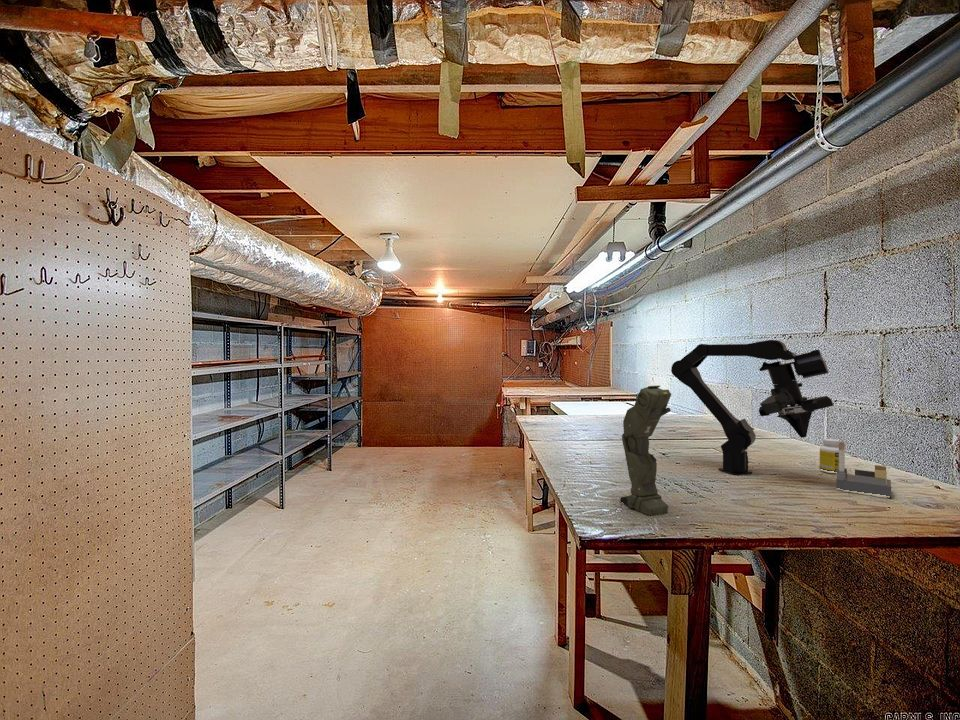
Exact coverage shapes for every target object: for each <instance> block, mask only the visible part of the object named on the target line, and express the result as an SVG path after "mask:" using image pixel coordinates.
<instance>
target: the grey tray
mask: <svg viewBox="0 0 960 720" xmlns="http://www.w3.org/2000/svg"><path fill="white" fill-rule="evenodd" d="M887 472H888V471H887V465H881V464H879V465H878V464H875V465H874V471H870V470H863V469H855V468H854V474H850V473H849V474H848V468H845V473H841V472H839V468H838V472H837V474H836V478H835V489H836V488H840V489H843V490H849V491H857V492H864V493H872V494H880V495H886V496H891V497H892V482H891V479H887V478H888V477H887V476H888V475H887V474H888V473H887Z"/></svg>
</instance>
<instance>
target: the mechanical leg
mask: <svg viewBox="0 0 960 720" xmlns="http://www.w3.org/2000/svg"><path fill="white" fill-rule="evenodd" d="M660 387H661V385H648V386H647V387H643V388H640V390H639V392H638V394H637V396H636V400H635V403H634V406H633V405H632V406H631V407H630V408H628V409H627V410H626V412H625V416H624V418H623V422H622V424H623V433H622V435H621V441H622V446H623V450H624V455H625V460H626V466H627V471H628V478H629V480H630V484H631V488H630V495H627V496H626V495H625V496H621V497H620V499H619V502H620V501H621V502H623V503H624V504H623V503H622V504H623V505H625V504H626V505H628V506H627V507H628V508H630V509H634V508H635V509H634V510H635V511H637V512H640V513H643V514H645V515H647V516H649V517H650V515H651V516H656V514H657V515H661V514H668V511H669V505H668V504H667V503H666V502H665V501H664V500H663V499H662V496H661V495H660V494H659V491H658V487H657V484H656V478H657V470H658V469H657V468H658V467H657V464H658V463H657V458H656V457H655V456H654V455H653V454H651V453H650V452H649V449H650V440H649V437H651V436H652V435H653V434H654V432H655V430H656V427H657V425H658V423H659V422H660V420H661V417H662V416H664V415H666V414H669V412H671V411H672V410H671V408H670V407H668V404H669V402H670V399H671V397H672V393H671V391H670V390H669V389H662V388H660ZM621 502H620V503H621ZM626 505H625V506H626Z"/></svg>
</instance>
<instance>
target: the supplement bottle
mask: <svg viewBox="0 0 960 720" xmlns="http://www.w3.org/2000/svg"><path fill="white" fill-rule="evenodd" d="M839 442H841V441H840V440H839V439H835V438H822V444H823V445H821V446H820V447H819V470H820V469H823V470H827V471H834V472H838V468H839Z"/></svg>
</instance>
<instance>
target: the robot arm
mask: <svg viewBox="0 0 960 720" xmlns="http://www.w3.org/2000/svg"><path fill="white" fill-rule="evenodd" d="M708 357H749V358H756V359H761V360H768V361H774V362H770V363H768V362H766V361H764V362H762V365H761V366H760V368H759V369H758V370H759V371H760V372H764V371H768V375H769V378H770V380H771V383H772V386H773V388H770V394H771V395H770V396H768V397H766V398H765V399H764V400H763V401H762V402H760V404H759V405H760V406H759V408H758V412H759V416H760V417H766V416H767V417H768V416H770V415H772V414H776V413H778V415H777V416H776V417H777V418H781V419H782V420H785V421H787V423H789V425H790V426H791V427H792V429H793V430H794V431H795V432H796V433H797V435H798V436H799V437H800V438H803V439H804V438H806V437H807V434H808V430H809V425H810V420H811V418H812V413H813V412H815V411H816V410H822V409H825V408H829V407H830V408H831V407H833V406H834V403H833V400H832V398H830V397H829V396H828V395H824V396H817V397H813V398H808V397H805V396H804V397H803V394H802V391H801V387H803V383H802V382H798V380H797V378H796V375H797V376H798V377H799V376H802V378H803V379H807V378H813V377H818V376H822V375H827V374H829V368H828V366H827V363H826V360H824V357H823V355H822V354H821V350H820V349H815V350H811V351H810V352H805V353H801V354H796V353H795V352H792V351H790V350H789V349H787V346H786V344H785V343H784V342H782V341H781V340H777V339H769V340H768V339H767V340H762V341H756V342H750V343H736V344H735V343H733V344H732V343H729V344H728V343H725V344H724V343H723V344H708V343H700V344H698V345H697V346H695V348H694V349H692V350H691V351H690V352H688V353H687V354H686V355H685V356H683V357H682V358H681V359H680V360H676V361H674V362H673V363H672V365H671V368H670V372H671V374H672V376H673V377H675V378H676V379H677V380H678V381H680V382H681V383H682V384H684V385H685V386H687V387H688V388H690V389H691V390H692V392H693V393H694V394H695V395H696V396H697V398H698V399H699V400H700V401H701V403H703V405H704V406H705V407H706V408H707V410H708V411H710V413H711V414H712V416H713V417H714V418H715V419H716V421H718V422H719V424H720V425H721V427H722V430H723V432H724V435H725V436H726V438H727V440H726V441H725V442H724V443H722V444H721V445H720V449H721V451H722V467H719V468H718V471H721V472H724V473H728V474H730V475H731V474H732V475H735V476H740V475H747V474H748V475H749V474H752V473H753V471H752V470H749V456H748V451H747V450H748V449H749V447H750V446H752V445H753V444H754V443H755V442H756V433H755V428H754V427H752V426H751V425H750V424H749V422H748V421H747V419H746V418H742V419H738V418H737V417H736V416H735V415H733V414H732V412H731V411H730V410H729V409H728V408H727V406H725V405H724V403H723V402H722V401H721V400H720V399H719V397H718V396H717V395H716V394H715V393H714V392H713V390H711V388H710V387H709V386H708V385H707V384H706V383H705V381H704V380H703V378H702V375H701V372H700V370H699V369H698V367H699V366H700V365H701V364H702V363H703V362H704V361H705V359H707V358H708ZM776 360H779V361H776ZM780 360H783V361H791V360H794V361H791V362H787V363H783V362H781V361H780ZM792 365H793V366H792ZM794 370H795V372H794ZM795 373H796V374H795Z"/></svg>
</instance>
